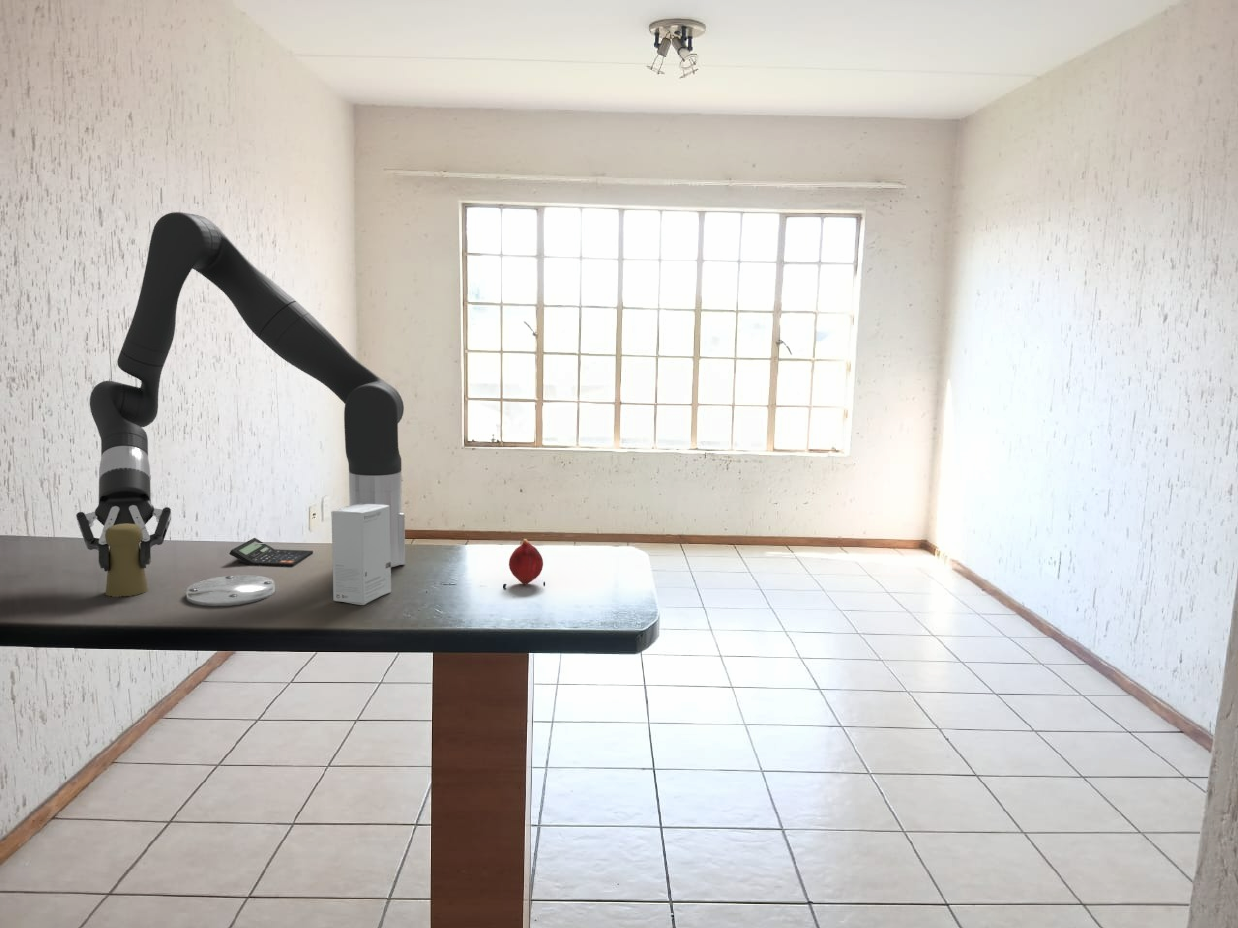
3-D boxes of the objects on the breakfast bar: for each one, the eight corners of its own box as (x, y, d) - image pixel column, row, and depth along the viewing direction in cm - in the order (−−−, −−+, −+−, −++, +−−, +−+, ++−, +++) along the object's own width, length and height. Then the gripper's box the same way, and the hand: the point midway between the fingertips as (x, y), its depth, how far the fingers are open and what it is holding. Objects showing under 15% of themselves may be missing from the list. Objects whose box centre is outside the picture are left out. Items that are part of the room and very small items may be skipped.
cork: (129, 598, 136) (125, 530, 135) (96, 595, 137) (92, 527, 136) (157, 587, 142) (153, 522, 140) (125, 584, 143) (121, 519, 142)
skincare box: (363, 606, 136) (362, 513, 134) (330, 601, 138) (328, 509, 136) (393, 591, 144) (392, 503, 142) (361, 587, 146) (360, 500, 143)
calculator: (293, 568, 157) (292, 552, 156) (229, 566, 157) (228, 549, 157) (312, 555, 166) (312, 539, 166) (252, 552, 166) (252, 537, 166)
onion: (548, 582, 152) (549, 537, 151) (531, 591, 147) (532, 544, 145) (520, 577, 154) (520, 533, 153) (502, 585, 149) (502, 540, 148)
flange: (270, 578, 149) (270, 571, 149) (278, 600, 138) (278, 592, 137) (186, 586, 143) (185, 579, 143) (187, 610, 132) (186, 601, 131)
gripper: (72, 468, 140) (69, 559, 131) (171, 464, 147) (175, 551, 138) (77, 494, 146) (75, 583, 137) (173, 489, 152) (176, 574, 143)
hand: (125, 566), depth 137 cm, fingers closed on cork, 4 cm apart
